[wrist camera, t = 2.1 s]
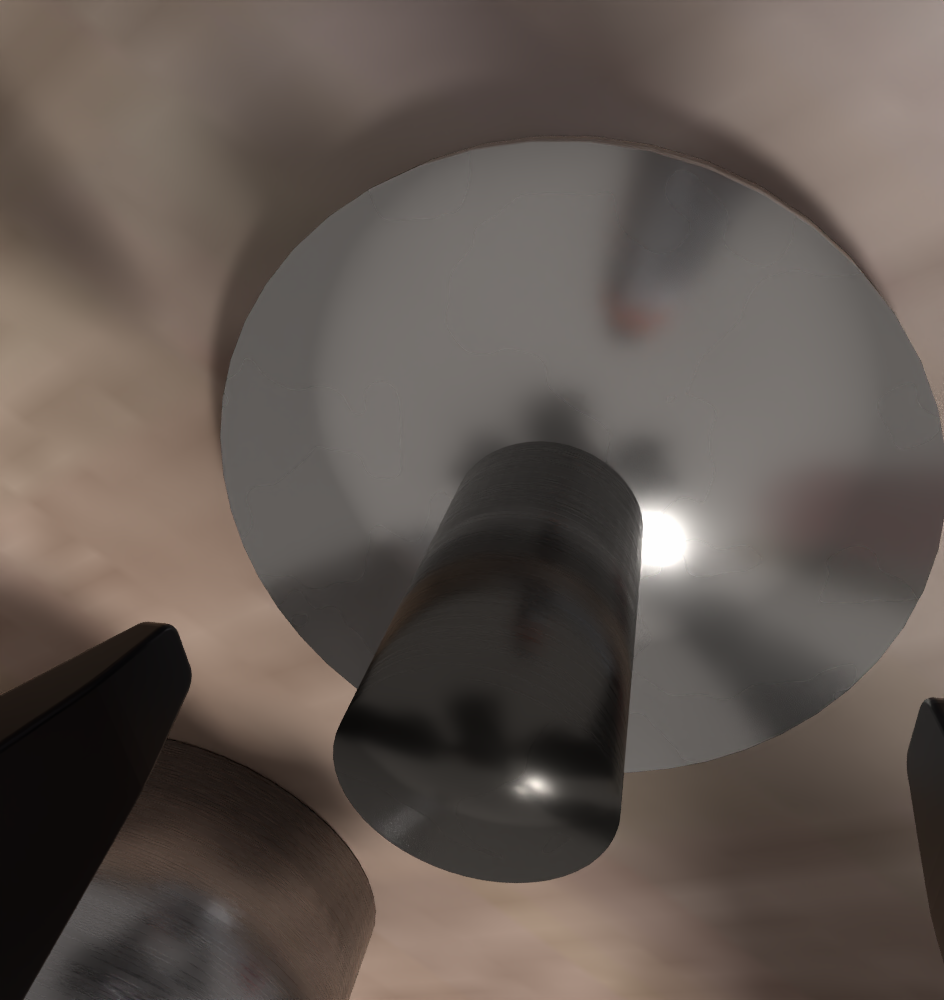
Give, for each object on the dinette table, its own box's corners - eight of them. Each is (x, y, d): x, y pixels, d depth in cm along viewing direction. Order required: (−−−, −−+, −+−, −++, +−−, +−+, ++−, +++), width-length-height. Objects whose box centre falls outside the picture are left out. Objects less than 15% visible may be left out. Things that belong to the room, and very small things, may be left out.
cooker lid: (1020, 100, 9) (1463, 185, 4) (858, 764, 14) (952, 1159, 9) (174, 159, 11) (-223, 256, 6) (313, 700, 17) (157, 980, 12)
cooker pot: (465, 780, 17) (370, 1102, 12) (496, 1021, 22) (440, 1318, 17) (-111, 700, 20) (-369, 916, 15) (29, 921, 25) (-131, 1138, 20)
